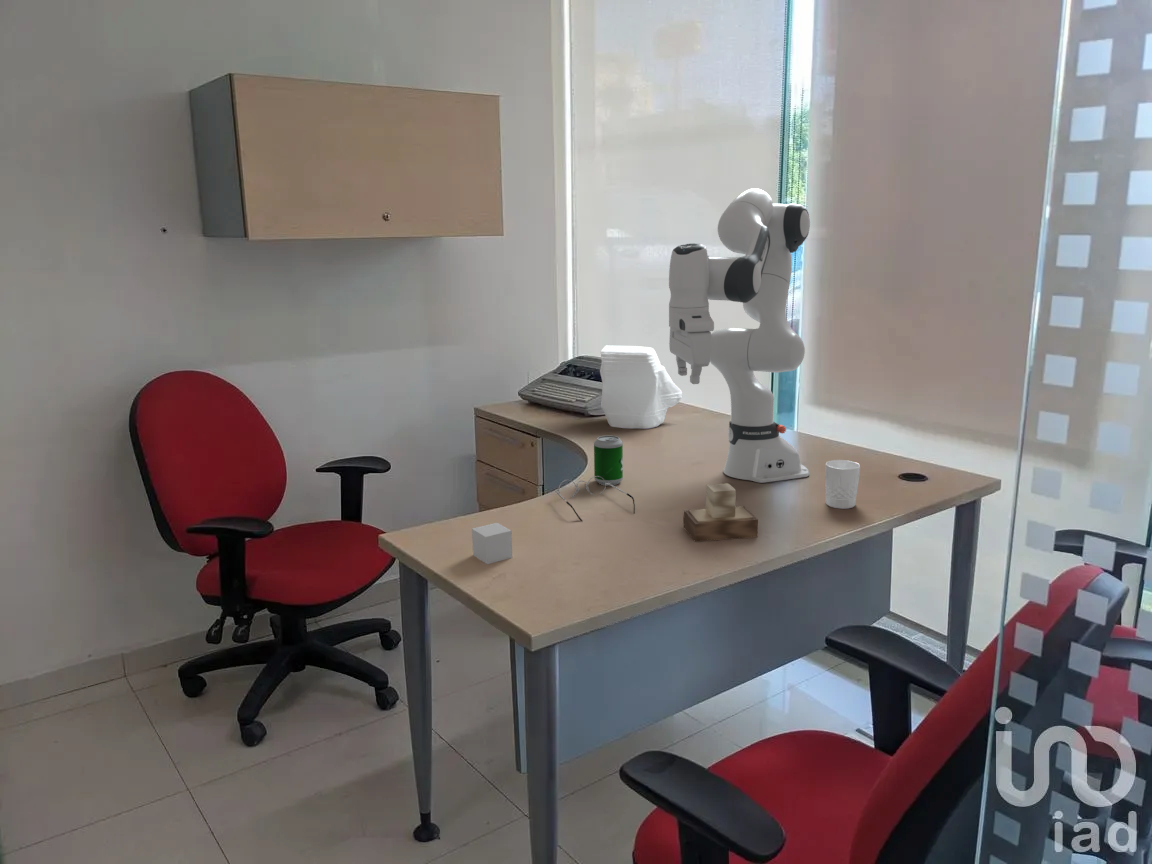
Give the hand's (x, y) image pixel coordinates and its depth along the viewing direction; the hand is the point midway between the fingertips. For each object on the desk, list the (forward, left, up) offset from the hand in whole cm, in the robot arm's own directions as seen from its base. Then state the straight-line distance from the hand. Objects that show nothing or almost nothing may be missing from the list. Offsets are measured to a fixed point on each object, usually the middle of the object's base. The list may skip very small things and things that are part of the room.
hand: (688, 379), depth 194 cm
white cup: (-37, +3, -32) cm, 49 cm away
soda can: (+14, -26, -32) cm, 43 cm away
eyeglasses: (+21, -8, -32) cm, 39 cm away
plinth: (-3, +15, -32) cm, 35 cm away
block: (-3, +15, -27) cm, 31 cm away
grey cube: (+47, +19, -32) cm, 60 cm away
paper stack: (-7, -86, -32) cm, 92 cm away
